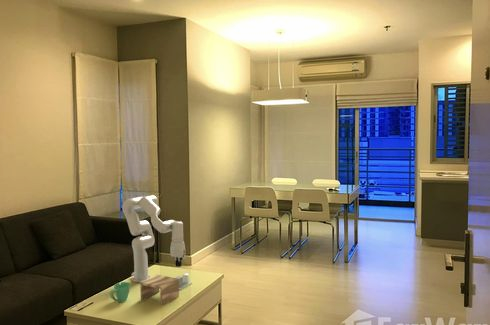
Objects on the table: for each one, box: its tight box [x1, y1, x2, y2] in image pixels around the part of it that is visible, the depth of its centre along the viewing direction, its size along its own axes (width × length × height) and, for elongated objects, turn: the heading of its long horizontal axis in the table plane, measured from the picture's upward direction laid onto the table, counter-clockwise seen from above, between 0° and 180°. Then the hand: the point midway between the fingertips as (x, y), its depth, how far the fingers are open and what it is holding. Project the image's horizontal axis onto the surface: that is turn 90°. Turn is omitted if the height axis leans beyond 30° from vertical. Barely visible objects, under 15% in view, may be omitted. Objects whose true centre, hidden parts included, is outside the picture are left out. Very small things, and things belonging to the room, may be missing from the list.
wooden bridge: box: [139, 274, 180, 306], centre depth 260 cm, size 18×16×12 cm
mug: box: [109, 281, 131, 302], centre depth 255 cm, size 15×10×10 cm
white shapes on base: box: [174, 273, 193, 292], centre depth 277 cm, size 7×20×8 cm, turn 151°
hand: (178, 266), depth 276 cm, fingers closed
